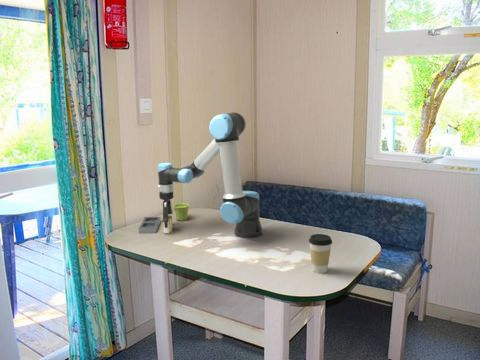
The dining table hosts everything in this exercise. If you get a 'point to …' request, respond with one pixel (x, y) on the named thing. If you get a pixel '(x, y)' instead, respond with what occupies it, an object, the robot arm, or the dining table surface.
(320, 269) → the coffee cup
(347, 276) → the dining table surface
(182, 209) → the plant pot
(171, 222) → the yellow rectangular block
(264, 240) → the dining table surface
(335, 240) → the dining table surface
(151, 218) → the grey double window frame
